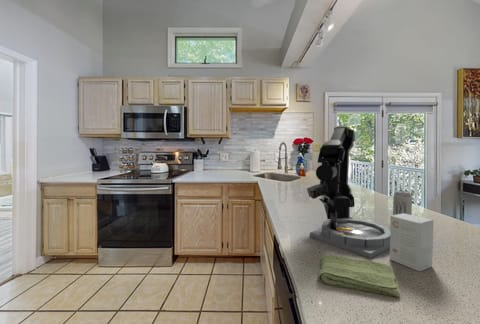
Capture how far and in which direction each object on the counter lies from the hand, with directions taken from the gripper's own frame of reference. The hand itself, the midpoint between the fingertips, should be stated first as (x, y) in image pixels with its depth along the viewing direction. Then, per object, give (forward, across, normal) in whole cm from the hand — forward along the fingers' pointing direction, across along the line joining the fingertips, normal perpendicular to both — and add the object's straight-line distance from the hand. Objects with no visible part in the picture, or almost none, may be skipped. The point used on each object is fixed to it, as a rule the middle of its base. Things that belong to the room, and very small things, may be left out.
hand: (329, 219), depth 92 cm
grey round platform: (+5, +6, +7) cm, 11 cm away
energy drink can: (+5, 0, +30) cm, 30 cm away
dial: (+4, +6, +7) cm, 10 cm away
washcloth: (+6, +30, -7) cm, 31 cm away
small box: (+5, +25, +12) cm, 28 cm away
